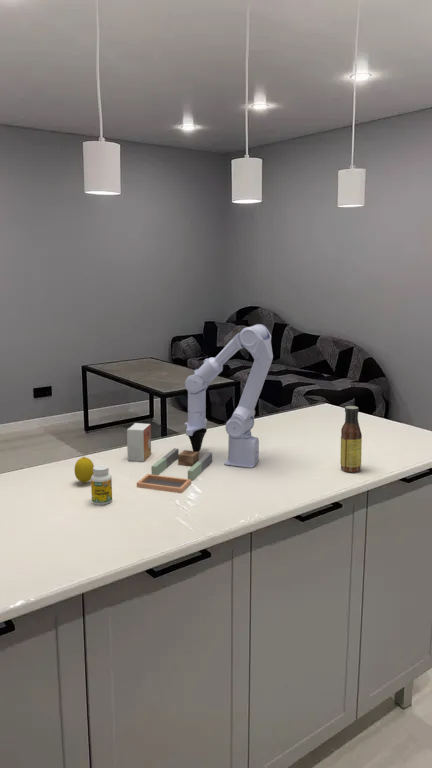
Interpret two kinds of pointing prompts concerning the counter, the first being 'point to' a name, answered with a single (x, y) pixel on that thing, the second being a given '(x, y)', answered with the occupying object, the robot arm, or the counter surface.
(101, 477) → the supplement bottle
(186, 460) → the walnut block
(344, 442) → the sauce bottle
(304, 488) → the counter surface
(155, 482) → the tray
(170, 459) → the green and grey bars
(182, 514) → the counter surface
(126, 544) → the counter surface
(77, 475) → the lemon
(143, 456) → the small box
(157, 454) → the counter surface
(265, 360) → the robot arm
